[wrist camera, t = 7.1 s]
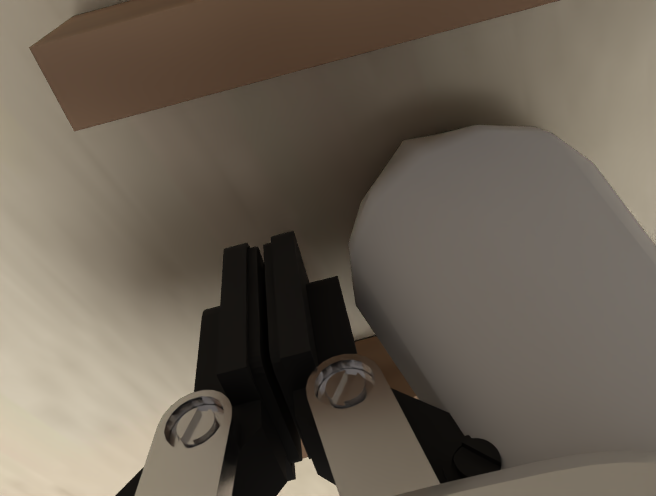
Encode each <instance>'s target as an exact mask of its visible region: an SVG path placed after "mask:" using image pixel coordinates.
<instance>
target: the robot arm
mask: <svg viewBox="0 0 656 496" xmlns="http://www.w3.org/2000/svg"><path fill="white" fill-rule="evenodd" d="M263 248H264V262H263V259H262V256H261V253H260V250H259V248H258V247H253V248H250V246H249V245H248V243H244V244H240V245H237V246H233V247H229V248H225V249H224V254H223V270H222V286H221V303H220V306H218V307H214V308H210V309H206V310H204V311H203V314H202V322H201V331H200V341H199V350H198V360H197V369H196V379H195V388H194V392H193V393H190V394H188V395H186V396H184V397H182V398H180V399H179V400H178V401H177V402H175V403H174V404H173V405H172V406H170V408H169V409H168V410H167V411H166V412H165V414H164V415H163V416H162V418H161V420H160V422H159V424H158V426H157V429H156V432H155V435H154V438H153V441H152V444H151V447H150V450H149V453H148V457H147V460H146V463H145V466H144V467H143V468H142V469H141V470H140V471H139V472H138V473H137V474H136V475H135V476H134V477H133V478H132V479H131V480H130V481H129V482H128V483H127V485H126V486H125V487H124V488H123V489H122V490H121V491H120V492H119V493H118V494H117V495H116V496H277V494H278V493H279V492H280V490H281V489H282V488H283V487H284V485H285V484H286V483H287V481H290V480H294V479H296V477H295V465H294V463H295V462H299V461H302V447H301V440H302V443H303V445H304V448H305V450H306V453H307V455H308V458H309V459H312V461H313V464H314V466H315V469H316V471H317V474H318V475H320V476H321V477H323V478H325V479H326V480H328V481H330V482H331V483H333V484H335V485H336V486H337V489H338V492H339V496H656V452H653V451H636V450H633V451H606V452H596V453H586V454H577V455H571V456H566V457H560V458H555V459H549V460H544V461H538V462H533V463H529V464H524V465H520V466H516V467H511V468H507V469H503V470H501V456H500V453H499V451H498V449H497V448H496V447H495V446H494V445H493V444H492V443H490V442H489V441H487V440H484V439H481V438H471V437H470V436H469V435H466V436H464V434H463V433H462V431H461V430H460V428H459V427H458V425H457V424H456V422H455V420H454V419H453V417H452V416H451V414H450V413H449V412H446V411H444V410H442V409H439V408H437V407H435V406H432V405H430V404H428V403H425V402H423V401H421V400H418V399H416V398H414V397H411V396H409V395H407V394H404V393H402V392H400V391H397V390H395V389H393V388H390V386H389V384H388V382H387V380H386V378H385V377H384V375H383V373H382V371H381V369H380V368H379V366H378V365H377V364H376V363H375V362H374V361H373V360H371V359H369V358H368V357H366V356H362V355H358V354H357V350H356V346H355V342H354V338H353V334H352V330H351V326H350V322H349V318H348V315H347V311H346V307H345V303H344V299H343V295H342V291H341V288H340V284H339V280H338V276H335V277H331V278H327V279H323V280H319V281H315V282H311V283H309V280H308V277H307V273H306V270H305V267H304V263H303V260H302V257H301V253H300V250H299V247H298V244H297V240H296V237H295V234H294V232H293V231H291V232H287V233H283V234H279V235H276V236H272V237H271V243H269V244H265V245H263Z"/></svg>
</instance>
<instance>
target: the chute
mask: <svg viewBox="0 0 656 496" xmlns="http://www.w3.org/2000/svg"><path fill="white" fill-rule="evenodd" d="M555 1H559V0H131V1H127V2H123V3H120V4H116V5H112V6H109V7H105V8H101V9H98V10H94V11H91V12H87V13H83V14H80V15H76V16H73V17H71V18H70V19H69V20H67V21H66V22H64V23H63V24H62V25H60V26H59V27H57V28H56V29H55V30H53V31H52V32H50V33H49V34H48V35H46V36H45V37H43V38H42V39H41V40H39V41H38V42H36V43H35V44H34V45H32V46H31V47H29V48H30V50H31V52H32V54H33V56H34V57H35V59H36V61H37V63H38V65H39V67H40V69H41V70H42V72H43V74H44V76H45V78H46V80H47V82H48V83H49V85H50V87H51V89H52V91H53V93H54V95H55V96H56V98H57V100H58V102H59V104H60V106H61V108H62V109H63V111H64V113H65V115H66V117H67V119H68V120H69V122H70V124H71V126H72V128H73V130H74V131H77V130H81V129H85V128H88V127H92V126H96V125H100V124H103V123H107V122H111V121H114V120H118V119H122V118H126V117H129V116H133V115H137V114H140V113H144V112H148V111H151V110H155V109H159V108H163V107H166V106H170V105H174V104H177V103H181V102H185V101H189V100H192V99H196V98H200V97H203V96H207V95H211V94H214V93H218V92H222V91H226V90H229V89H233V88H237V87H240V86H244V85H248V84H252V83H255V82H259V81H263V80H266V79H270V78H274V77H277V76H281V75H285V74H289V73H292V72H296V71H300V70H303V69H307V68H311V67H315V66H318V65H322V64H326V63H329V62H333V61H337V60H340V59H344V58H348V57H352V56H355V55H359V54H363V53H366V52H370V51H374V50H378V49H381V48H385V47H389V46H392V45H396V44H400V43H403V42H407V41H411V40H415V39H418V38H422V37H426V36H429V35H433V34H437V33H441V32H444V31H448V30H452V29H455V28H459V27H463V26H466V25H470V24H474V23H478V22H481V21H485V20H489V19H492V18H496V17H500V16H504V15H507V14H511V13H515V12H518V11H522V10H526V9H529V8H533V7H537V6H541V5H544V4H548V3H552V2H555ZM355 346H356V350H357V354H358V355H362V356H366V357H368V358H369V359H371V360H373V361H374V362H375V363H376V364H377V365H378V366H379V368H380V369H381V371H382V373H383V375H384V377H385V378H386V380H387V382H388V384H389V386H390V388H393V389H395V390H397V391H400V392H402V393H404V394H407V395H409V396H411V397H414V398H416V399H418V397H417V396H416V394H415V393H414V391H413V390H412V388H411V387H410V385H409V384H408V382H407V381H406V379H405V378H404V376H403V375H402V373H401V372H400V370H399V369H398V367H397V366H396V364H395V363H394V361H393V360H392V358H391V357H390V355H389V354H388V352H387V351H386V349H385V348H384V346H383V345H382V343H381V342H380V340H379V339H378V337H377V336H375V337H371V338H367V339H363V340H360V341H356V342H355ZM418 400H419V399H418ZM301 447H302V458H306V457H308V455H307V453H306V450H305V448H304V445H303V443H302V440H301Z"/></svg>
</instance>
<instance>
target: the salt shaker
mask: <svg viewBox="0 0 656 496" xmlns="http://www.w3.org/2000/svg"><path fill="white" fill-rule="evenodd" d="M348 245H349V254H350V263H351V272H352V280H353V289H354V296H355V303H356V306H357V308H358V309H359V311H360V312H361V314H362V315H363V316H364V318H365V319H366V321H367V322H368V324H369V325H370V327H371V328H372V330H373V331H374V333H375V334H376V336H377V337H378V339H379V340H380V342H381V343H382V345H383V346H384V348H385V349H386V351H387V352H388V354H389V355H390V357H391V358H392V360H393V361H394V363H395V364H396V366H397V367H398V369H399V370H400V372H401V373H402V375H403V376H404V378H405V379H406V381H407V382H408V384H409V385H410V387H411V388H412V390H413V391H414V393H415V394H416V396H417V397H418V399H419V400H421V401H423V402H425V403H428V404H430V405H432V406H435V407H437V408H439V409H442V410H444V411H446V412H449V413H450V414H451V416H452V417H453V419H454V420H455V422H456V424H457V425H458V427H459V428H460V430H461V431H462V433H463V434H464V436H466V435H469V436H470V437H471V438H481V439H484V440H487V441H489V442H490V443H492V444H493V445H494V446H495V447H496V448H497V449H498V451H499V453H500V456H501V470H503V469H507V468H511V467H516V466H520V465H524V464H529V463H533V462H538V461H544V460H549V459H555V458H560V457H566V456H571V455H577V454H586V453H596V452H606V451H633V450H636V451H653V452H656V246H655V244H654V243H653V242H652V240H651V239H650V238H649V236H648V235H647V234H646V232H645V231H644V230H643V228H642V227H641V226H640V224H639V223H638V222H637V220H636V219H635V218H634V216H633V215H632V214H631V212H630V211H629V210H628V208H627V207H626V206H625V204H624V203H623V202H622V200H621V199H620V198H619V196H618V195H617V194H616V192H615V191H614V190H613V188H612V187H611V186H610V184H609V183H608V182H607V180H606V179H605V178H604V176H603V175H602V174H601V172H600V171H599V170H598V168H597V167H596V166H595V164H594V163H593V162H592V161H590V160H589V159H588V158H586V157H585V156H583V155H582V154H581V153H579V152H578V151H576V150H575V149H574V148H572V147H571V146H569V145H568V144H567V143H565V142H564V141H562V140H561V139H560V138H558V137H557V136H555V135H554V134H553V133H550V132H548V131H545V130H543V129H540V128H537V127H530V126H498V125H473V126H469V127H465V128H461V129H457V130H453V131H449V132H445V133H441V134H436V135H430V136H425V137H419V138H414V139H408V140H403V142H402V143H401V145H400V146H399V148H398V149H397V150H396V152H395V153H394V155H393V156H392V158H391V159H390V161H389V162H388V163H387V165H386V166H385V168H384V169H383V171H382V172H381V174H380V175H379V176H378V178H377V179H376V181H375V182H374V184H373V185H372V187H371V188H370V189H369V191H368V192H367V194H366V195H365V197H364V198H363V200H362V201H361V204H360V207H359V211H358V214H357V217H356V220H355V224H354V227H353V230H352V234H351V237H350V240H349V243H348Z"/></svg>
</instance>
